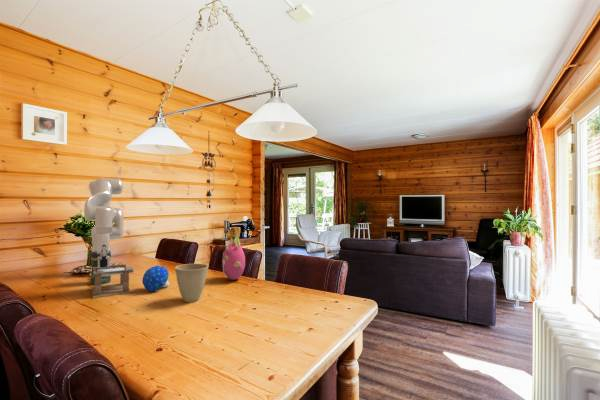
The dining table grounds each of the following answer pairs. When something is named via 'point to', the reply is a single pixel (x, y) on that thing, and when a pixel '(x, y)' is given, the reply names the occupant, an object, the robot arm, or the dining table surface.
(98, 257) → the light grey cube
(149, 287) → the blue green-spotted dome
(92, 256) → the coffee jar
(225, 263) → the pink dragon fruit
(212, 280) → the dining table surface
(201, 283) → the plant pot
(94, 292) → the frame
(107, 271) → the trapdoor
